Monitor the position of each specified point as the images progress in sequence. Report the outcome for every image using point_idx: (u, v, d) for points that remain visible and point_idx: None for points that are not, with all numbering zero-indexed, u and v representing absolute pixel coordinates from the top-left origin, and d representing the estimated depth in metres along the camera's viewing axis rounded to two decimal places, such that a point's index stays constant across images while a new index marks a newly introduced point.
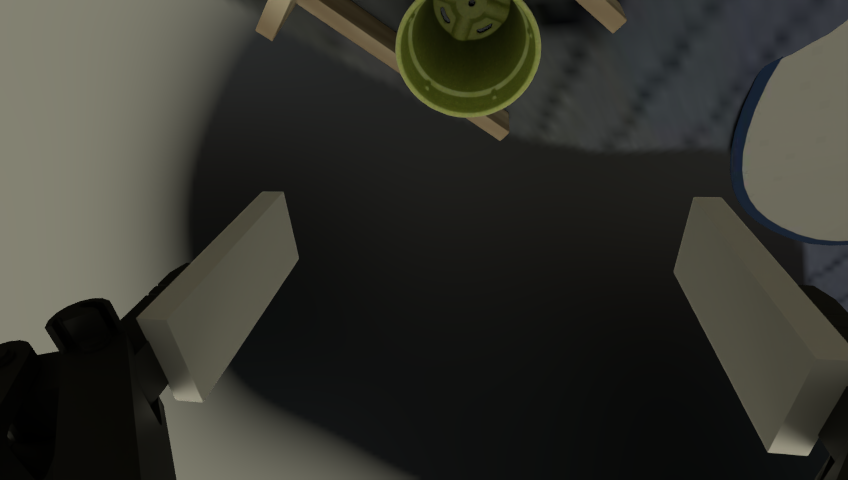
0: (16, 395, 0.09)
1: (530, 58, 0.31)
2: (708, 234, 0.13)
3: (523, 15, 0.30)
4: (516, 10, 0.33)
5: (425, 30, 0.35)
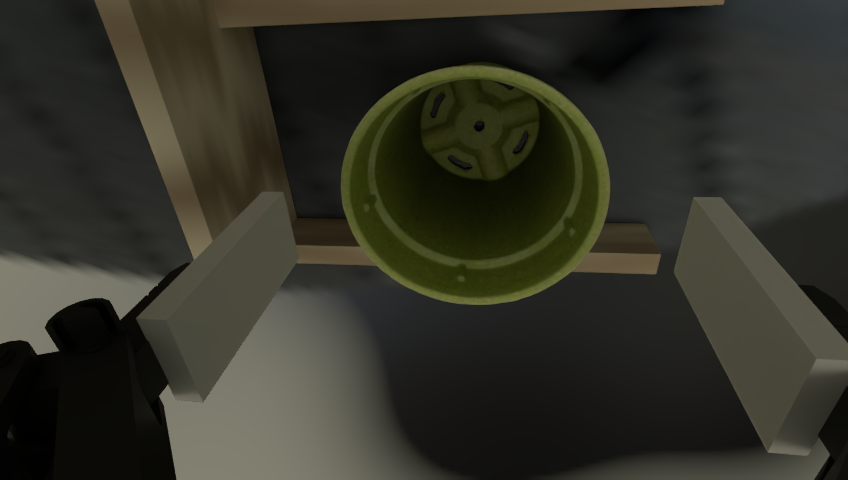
0: (16, 395, 0.09)
1: (581, 138, 0.16)
2: (708, 233, 0.13)
3: (521, 87, 0.16)
4: None
5: (431, 199, 0.23)
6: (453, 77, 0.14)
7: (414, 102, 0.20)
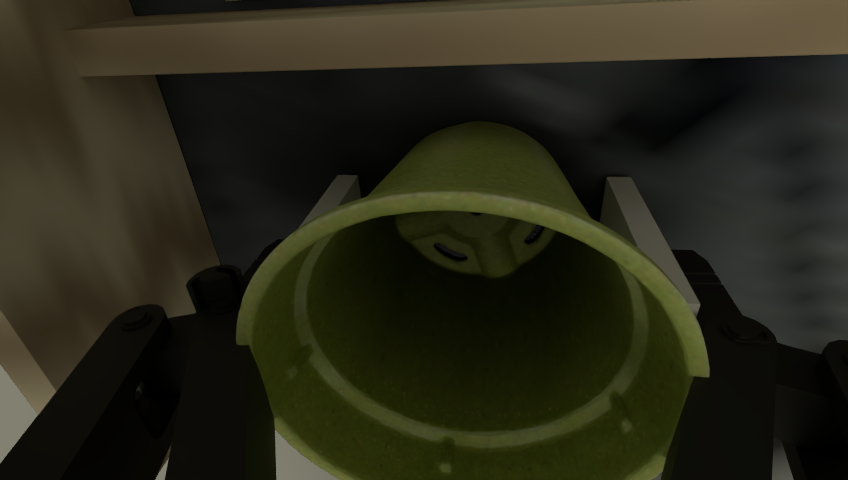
0: (147, 358, 0.10)
1: (655, 304, 0.09)
2: (613, 208, 0.14)
3: None
4: None
5: (406, 317, 0.16)
6: (419, 209, 0.07)
7: None
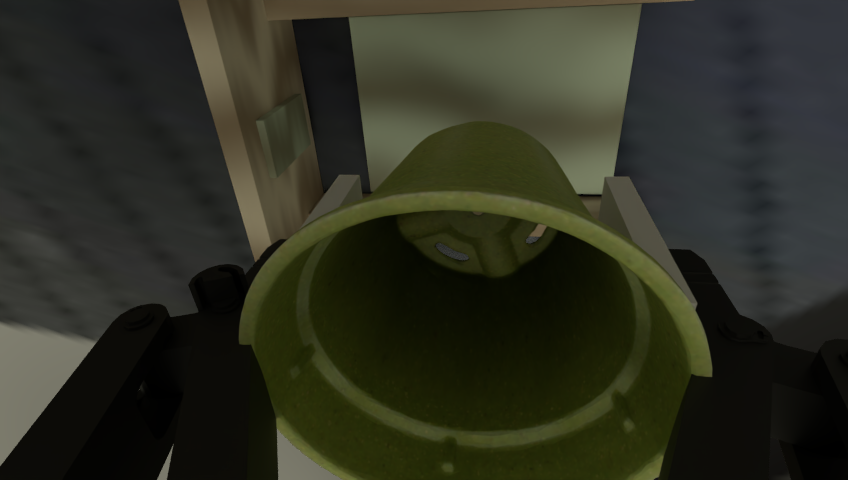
0: (149, 357, 0.10)
1: (658, 303, 0.09)
2: (611, 207, 0.14)
3: None
4: None
5: (408, 317, 0.16)
6: (422, 209, 0.07)
7: None
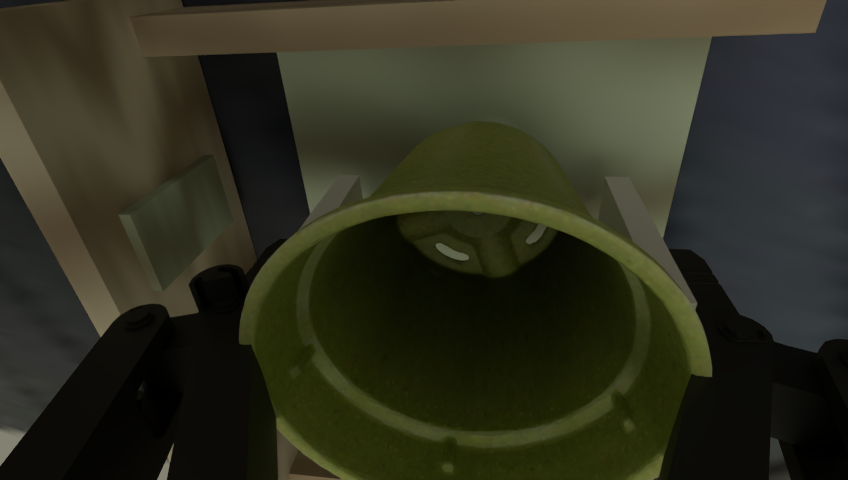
0: (149, 357, 0.10)
1: (657, 303, 0.09)
2: (611, 207, 0.14)
3: None
4: None
5: (408, 317, 0.16)
6: (422, 209, 0.07)
7: None
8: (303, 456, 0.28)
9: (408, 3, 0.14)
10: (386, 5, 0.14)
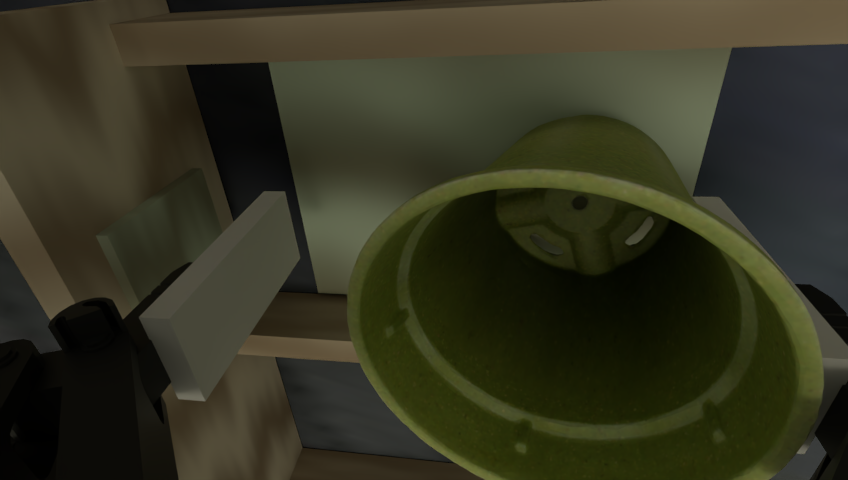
0: (19, 394, 0.09)
1: (769, 309, 0.08)
2: None
3: None
4: None
5: (496, 301, 0.16)
6: (533, 185, 0.08)
7: None
8: (298, 476, 0.27)
9: (406, 10, 0.13)
10: (382, 12, 0.13)
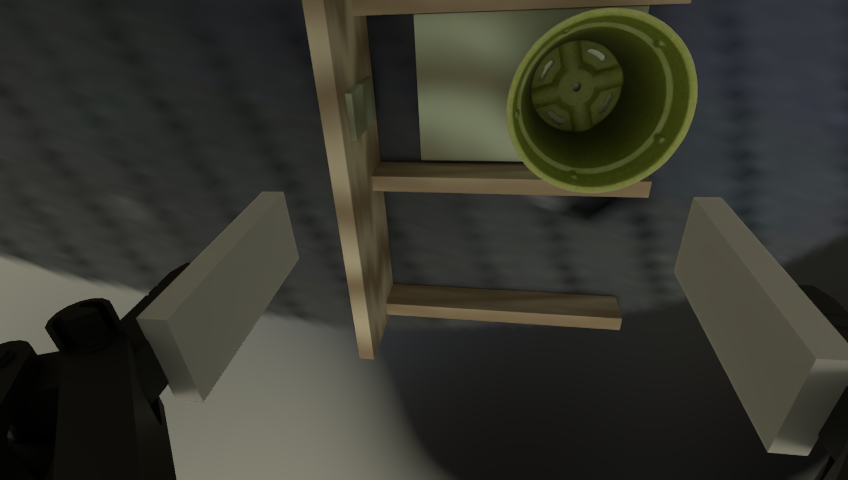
0: (16, 395, 0.09)
1: (678, 66, 0.24)
2: (708, 233, 0.13)
3: (638, 33, 0.24)
4: (628, 52, 0.28)
5: (541, 133, 0.30)
6: (605, 14, 0.23)
7: (545, 54, 0.28)
8: (393, 295, 0.43)
9: None
10: None
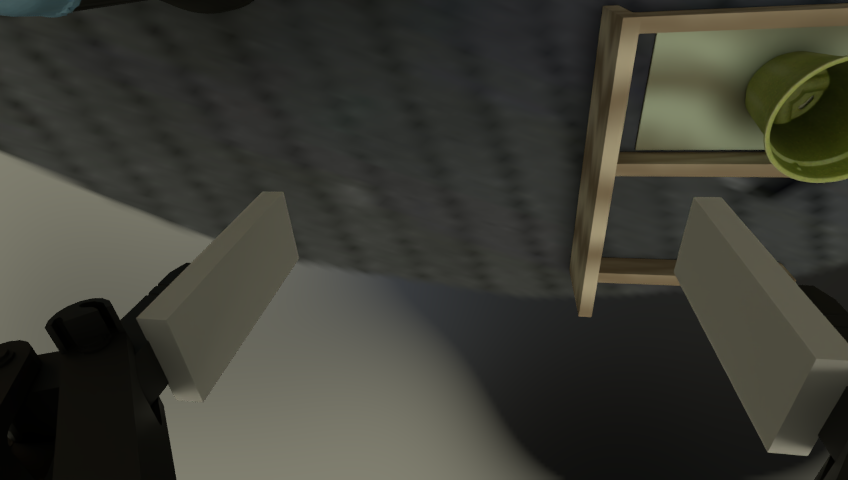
0: (16, 395, 0.09)
1: None
2: (708, 233, 0.13)
3: None
4: None
5: None
6: None
7: (785, 69, 0.36)
8: None
9: (749, 12, 0.35)
10: (740, 13, 0.35)
